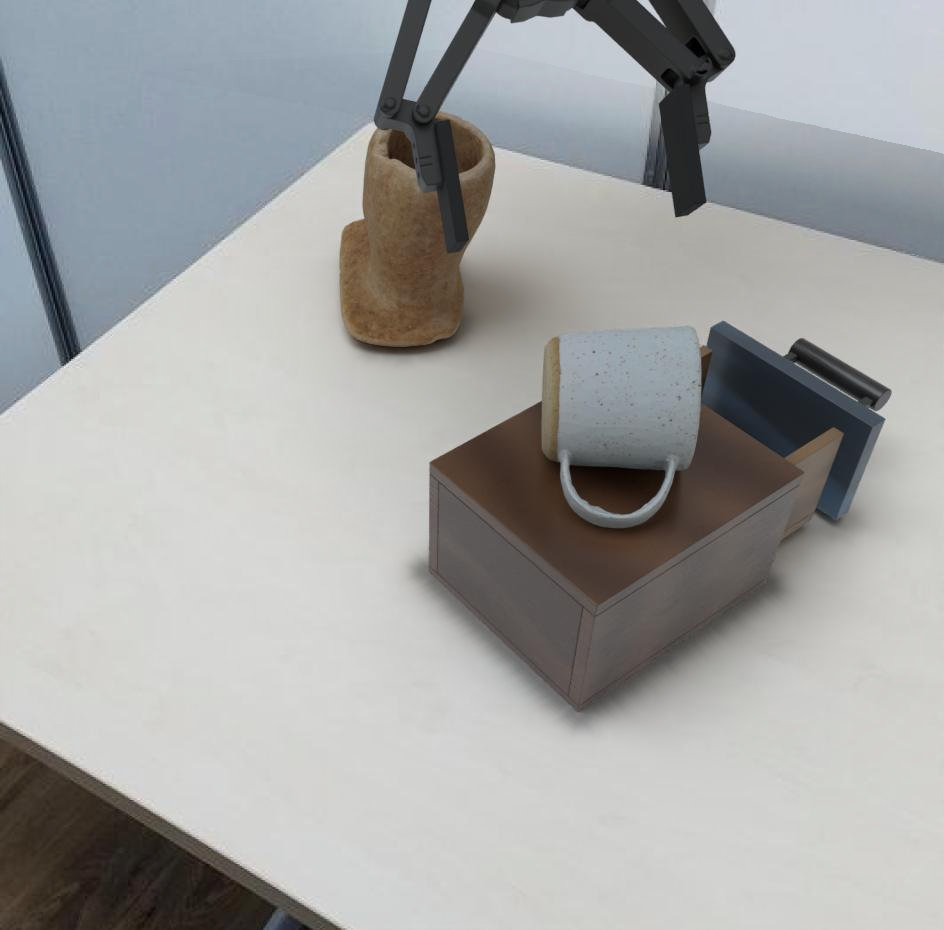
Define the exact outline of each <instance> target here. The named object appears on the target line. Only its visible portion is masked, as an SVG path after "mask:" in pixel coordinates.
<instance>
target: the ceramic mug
mask: <svg viewBox="0 0 944 930" xmlns="http://www.w3.org/2000/svg"><path fill="white" fill-rule="evenodd" d="M700 347H701V345H700V340H699V337H698V333H697V331H696V329H695V327H694V326H691V325H679V326H678V325H675V326H660V327H639V328H637V327H636V328H624V329H611V330H609V329H607V330H606V329H604V330H587V331H575V332H570V333H566V334H562V335H561V334H560V335H557V336H554V337H552V338H551V339H549V340H548V341H547V342H546V344H545V346H544V351H543V362H542V382H541V383H542V384H541V401H542V427H541V431H542V451H543V453H544V454H545V455H546V457H547V458H548V459H550V460H551V461H554V462H560V463H561V471H560V478H561V484H562V488H563V492H564V496H565V498H566V500H567V502H568V503H569V505H570V507H571V508H572V509H573V510H574V512H575V513H576V514H578V515H579V516H580V517H582V518H583V519H585V520H586V521H588V522H590V523H592V524H595V525H598V526H601V527H608V528H630V527H633V526H636V525H639V524H641V523H643V522H645V521H647V520H648V519H649V518H650V517H652V516H653V515H654V514H655V513H656V512H657V511H658V510H659V509H660V507H661V506H662V504H663V503H664V501H665V499H666V497H667V495H668V492H669V490H670V487H671V485H672V482H673V478H674V474H675V471H682V470H686V469H687V468H688V467H689V465H690V463H691V460H692V458H693V455H694V451H695V447H696V442H697V435H698V429H699V418H700V403H701V356H700ZM569 465H576V466H603V467H621V468H632V469H651V470H665V473H666V474H665V479H664V482H663V485H662V487H661V489H660V491H659V492H658V494H657V495H656V496H655V497H654V498H653V499H652V500H651V501H650V502H649V503H647V504H645V505H644V506H643V507H642V508H641V509H639V510H637V511H635V512H633V513H631V514H626V515H621V514H613V513H609V512H606V511H605V510H603V509H601V508H600V507H598V506H591V505H589V504H588V502H587V501H585V500H583V499H581V498H580V497H579V496H578V494H577V492H576V490H575V488H574V487H573V485H572V482H571V476H570V471H569Z"/></svg>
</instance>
